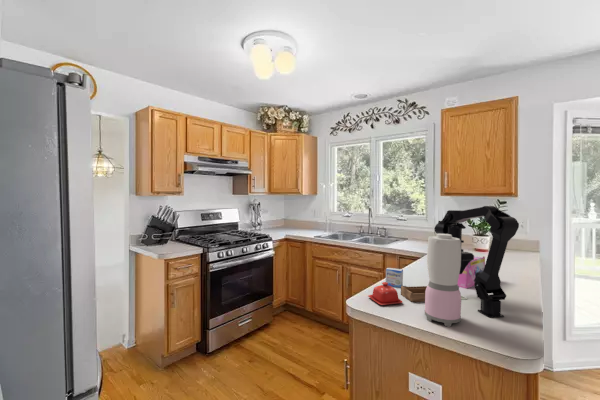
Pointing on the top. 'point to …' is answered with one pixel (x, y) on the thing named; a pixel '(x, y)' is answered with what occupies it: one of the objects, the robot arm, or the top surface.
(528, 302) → the top surface
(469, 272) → the gum box
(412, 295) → the walnut box
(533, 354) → the top surface
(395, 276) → the medicine box
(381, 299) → the butter dish
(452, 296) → the blender
